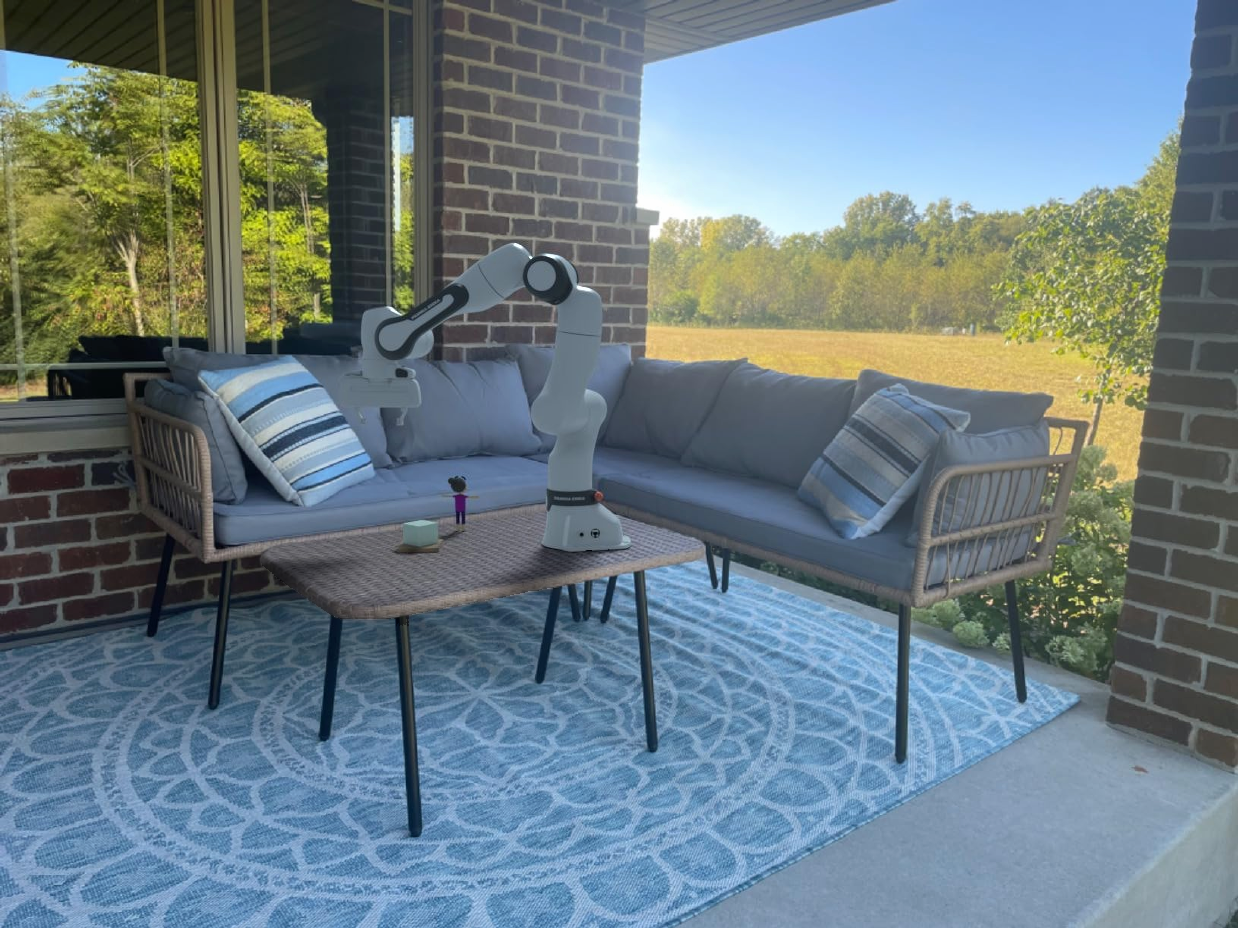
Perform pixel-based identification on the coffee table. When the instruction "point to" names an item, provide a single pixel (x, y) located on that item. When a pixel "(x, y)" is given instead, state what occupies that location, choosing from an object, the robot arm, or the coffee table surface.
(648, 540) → the coffee table surface
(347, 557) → the coffee table surface
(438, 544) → the stand
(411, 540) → the pale aqua cube
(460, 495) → the toy
